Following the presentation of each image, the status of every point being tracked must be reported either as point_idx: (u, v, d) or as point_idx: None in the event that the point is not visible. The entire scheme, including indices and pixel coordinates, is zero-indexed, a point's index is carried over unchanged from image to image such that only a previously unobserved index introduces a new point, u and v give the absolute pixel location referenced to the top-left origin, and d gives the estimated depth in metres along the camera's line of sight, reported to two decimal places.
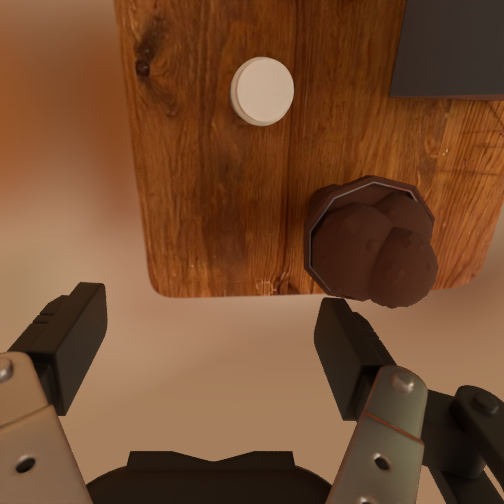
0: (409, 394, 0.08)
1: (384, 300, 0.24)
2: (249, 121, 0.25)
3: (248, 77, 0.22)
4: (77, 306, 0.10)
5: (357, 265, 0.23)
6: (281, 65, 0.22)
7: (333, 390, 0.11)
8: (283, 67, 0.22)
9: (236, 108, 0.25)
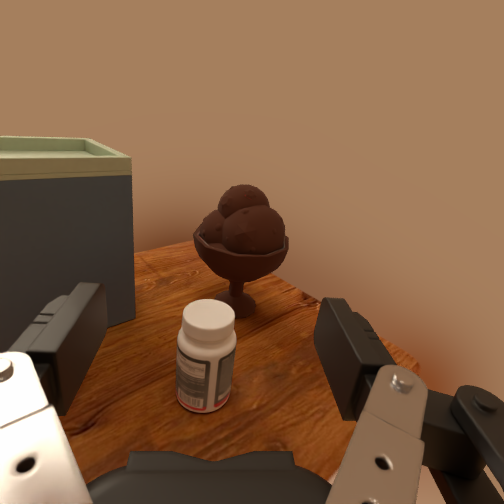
0: (409, 394, 0.08)
1: (264, 196, 0.37)
2: (234, 331, 0.27)
3: (210, 324, 0.24)
4: (77, 306, 0.10)
5: (261, 210, 0.35)
6: (184, 313, 0.25)
7: (333, 391, 0.11)
8: (184, 311, 0.25)
9: (233, 342, 0.26)
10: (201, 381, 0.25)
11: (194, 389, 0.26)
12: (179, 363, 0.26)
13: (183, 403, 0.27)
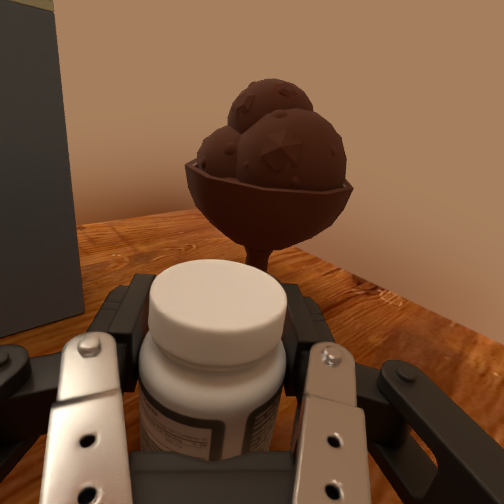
0: (335, 366, 0.09)
1: None
2: None
3: (225, 317, 0.08)
4: (139, 294, 0.11)
5: (308, 114, 0.19)
6: (154, 287, 0.09)
7: None
8: (155, 283, 0.09)
9: (283, 364, 0.10)
10: None
11: None
12: (143, 419, 0.10)
13: None
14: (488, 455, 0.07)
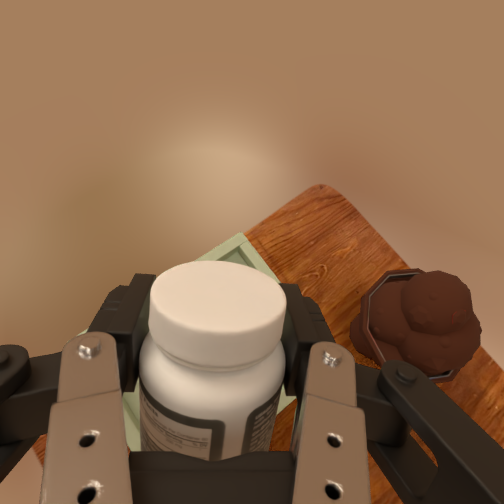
0: (335, 366, 0.09)
1: (471, 300, 0.27)
2: None
3: (225, 318, 0.08)
4: (139, 294, 0.11)
5: (466, 340, 0.27)
6: (154, 288, 0.09)
7: None
8: (155, 284, 0.09)
9: (282, 365, 0.10)
10: None
11: None
12: (143, 419, 0.10)
13: None
14: (488, 455, 0.07)
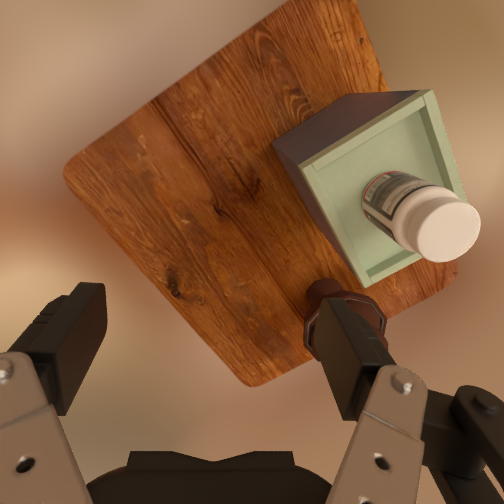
0: (409, 394, 0.08)
1: None
2: None
3: (426, 234, 0.20)
4: (77, 306, 0.10)
5: None
6: (457, 204, 0.19)
7: (333, 391, 0.11)
8: (460, 204, 0.19)
9: (409, 249, 0.23)
10: (380, 205, 0.24)
11: (378, 196, 0.25)
12: (407, 184, 0.23)
13: (375, 179, 0.26)
14: None
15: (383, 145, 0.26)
